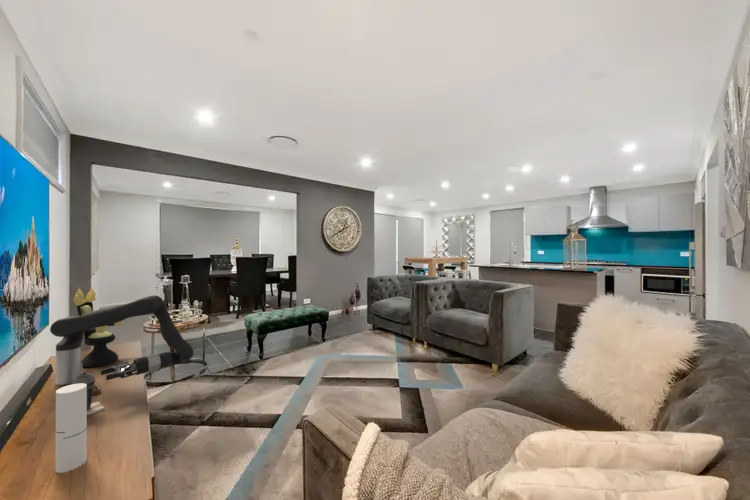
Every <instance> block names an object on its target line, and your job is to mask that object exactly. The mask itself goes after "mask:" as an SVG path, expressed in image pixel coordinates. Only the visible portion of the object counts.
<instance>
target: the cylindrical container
mask: <svg viewBox="0 0 750 500" xmlns="http://www.w3.org/2000/svg"><path fill="white" fill-rule="evenodd" d="M87 417H88V415H87V384H84V383H79V384H72V383H71V384H67V385H65V386H62V387H60V388H58V389H57V390H55V473H58V474H65V473H69V472H71V471H70V470H72V471H74V470H75V469H74V468H76V467H79V466H80V467H82V466H83V465H84V464H86V462H87V431H88V430H87V427H88V426H87V423H88V422H87ZM85 461H86V462H85ZM83 463H84V464H83ZM82 464H83V465H82ZM81 465H82V466H81ZM80 467H79V468H80ZM73 469H74V470H73ZM68 471H69V472H68Z"/></svg>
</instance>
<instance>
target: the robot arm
mask: <svg viewBox="0 0 750 500" xmlns="http://www.w3.org/2000/svg"><path fill="white" fill-rule="evenodd" d="M147 315H154V316H155V318H156V319H157V321H158V324H159V327H160V328H159V329H160V334H161V337H162V338H163V340H164V341H165V343H166V345H167V346H168V347H169V348H171V349H174V351H171V352H169V351H166V352H162V353H157V354H150V355H145V356H141V357H137V358H135V359H134V360H133V362H132V363H129V362H128V361H126V362H121V363H116V364H112V366H111V367H108V368H104V369H100V375H101V376H103V375H105V379H106V381H110V380H114V379H117V378H118V379H125V378H129V377H132V376H137V375H138V376H139V375H143V374H146V373H149V372H153V371H156V370H159V369H163V368H166V367H169V366H175V365H176V366H177V365H180V364H185V363H186V362H188V361H189V360H191V358H192V357H193V356H194V354H195V353H194V351H195V350H194V349H193V347H192V346H191V345H190V343H189V342H188V341H186V339H184V338H183V336H182V335H181V334H180V332H179V331H178V329H177V327H176V325H175V323H174V322H173V320H172V318H171V315H170V314H169V311H168V309H167V306H166V304H165V302H164V300H163V298H162V297H161V296H159V295H149V296H144V297H141V298H138V299H135V300H134V301H131V302H127V303H124V304H123V303H122V304H116V305H115V304H113V305H110V306H107V307H106V306H105V307H102V308H99V309H96V310H93V311H92V312H89V313H87V314H84V315H81V316H79V315H70V316H68V317H62V318H59V319H57V320H56V321H54V322H53V323H52V324H51V325H50V329H49V331H50V333H51V335H52V336H55V337H58V338H61V340H60V341H59V342H57V343H56V345H55V385H57V386H64V385H65V386H66V385H71V384H72V382H73V380H74V379H75V377H76V376H78V375H79V374H81V361H82V352H81V351H82V342H83V341H84V330H85V329H91V328H97V327H102V326H107V325H110V324H114V323H117V322H120V321H123V320H124V321H126V319H129V318H133V317H138V316H139V317H140V316H147ZM124 321H123V322H124ZM107 327H108V326H107Z"/></svg>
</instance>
